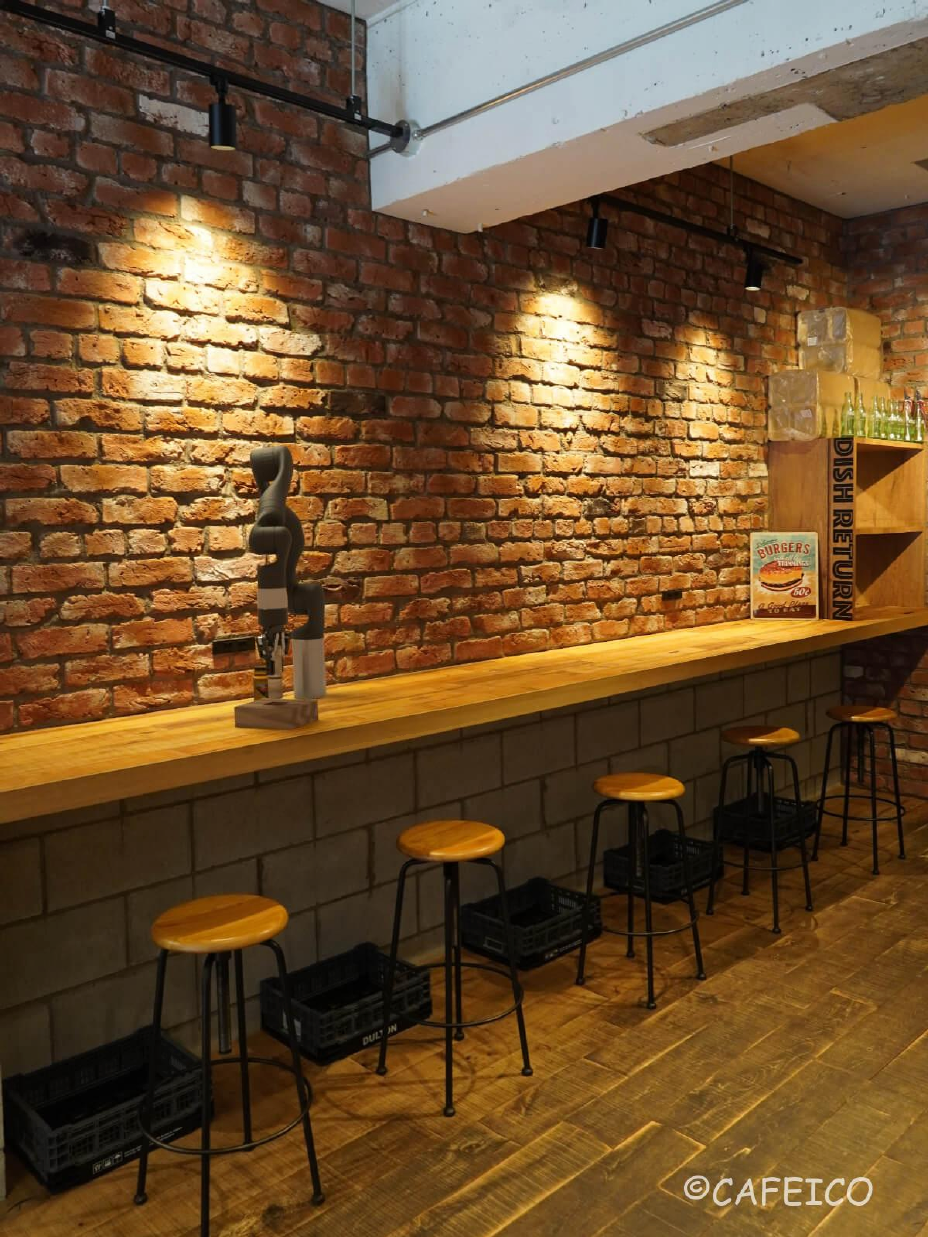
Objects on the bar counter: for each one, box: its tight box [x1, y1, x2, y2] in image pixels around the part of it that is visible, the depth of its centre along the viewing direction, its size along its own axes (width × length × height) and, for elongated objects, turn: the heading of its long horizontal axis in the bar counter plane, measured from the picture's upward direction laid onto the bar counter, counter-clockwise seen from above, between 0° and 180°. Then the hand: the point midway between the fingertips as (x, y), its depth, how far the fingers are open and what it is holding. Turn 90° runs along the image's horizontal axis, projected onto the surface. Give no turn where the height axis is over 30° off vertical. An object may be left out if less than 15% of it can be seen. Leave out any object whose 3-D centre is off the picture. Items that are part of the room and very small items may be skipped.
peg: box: [267, 646, 284, 699], centre depth 264 cm, size 4×4×13 cm
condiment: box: [252, 664, 268, 701], centre depth 287 cm, size 7×8×12 cm
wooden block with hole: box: [233, 698, 319, 730], centre depth 265 cm, size 14×16×5 cm
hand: (274, 673), depth 264 cm, fingers closed on peg, 3 cm apart
